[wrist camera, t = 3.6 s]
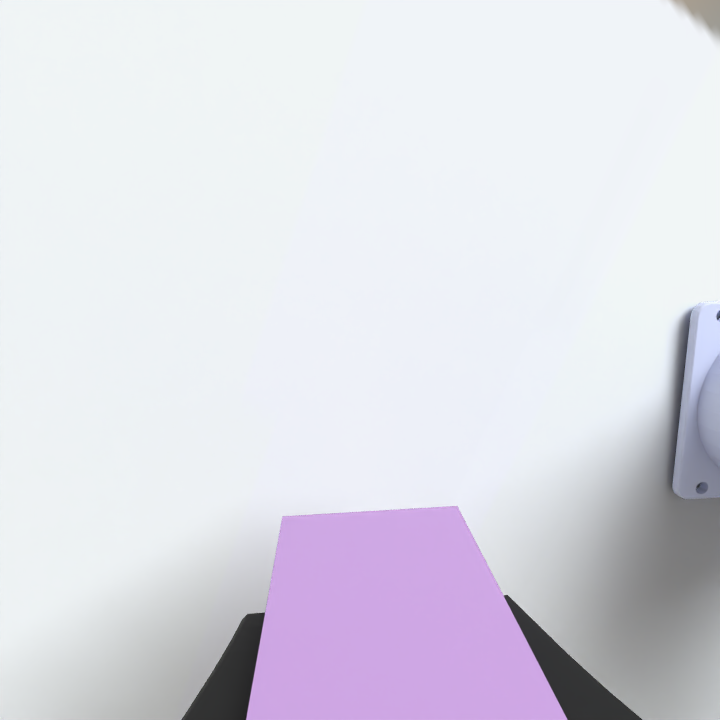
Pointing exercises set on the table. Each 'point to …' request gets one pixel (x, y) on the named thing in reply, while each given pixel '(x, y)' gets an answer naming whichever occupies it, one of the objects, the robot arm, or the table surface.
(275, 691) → the purple block
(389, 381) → the table surface
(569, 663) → the robot arm
